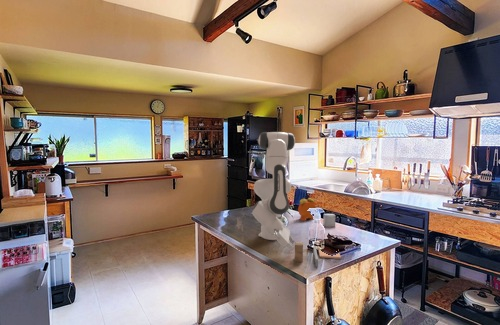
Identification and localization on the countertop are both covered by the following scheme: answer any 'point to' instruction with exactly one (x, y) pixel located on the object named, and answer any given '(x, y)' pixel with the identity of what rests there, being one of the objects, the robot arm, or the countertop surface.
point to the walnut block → (299, 251)
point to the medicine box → (329, 220)
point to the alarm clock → (305, 208)
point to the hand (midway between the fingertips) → (293, 245)
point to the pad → (324, 255)
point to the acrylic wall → (315, 256)
